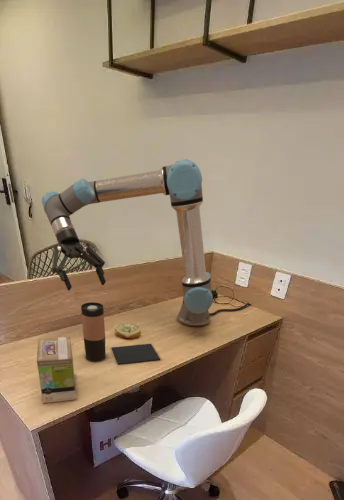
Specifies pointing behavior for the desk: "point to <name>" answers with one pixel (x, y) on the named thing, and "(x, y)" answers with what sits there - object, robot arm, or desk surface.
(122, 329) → the decorated donut
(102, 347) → the travel mug
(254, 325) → the desk surface
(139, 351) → the desk mat
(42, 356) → the tea box
